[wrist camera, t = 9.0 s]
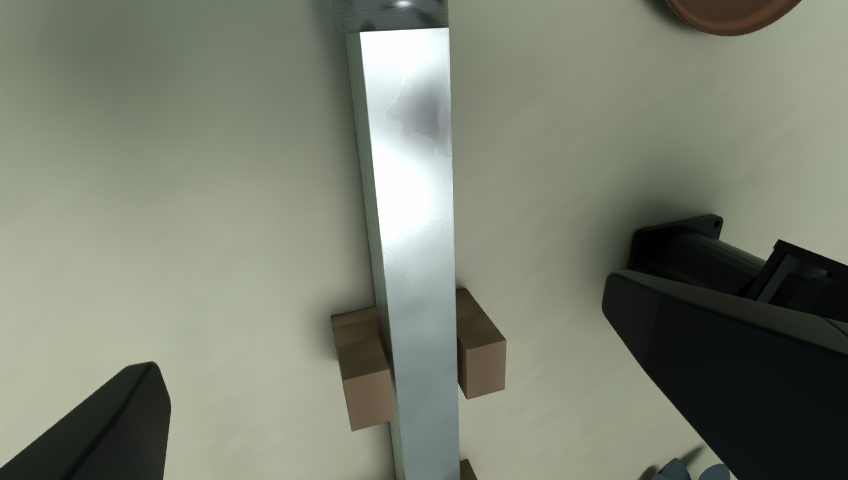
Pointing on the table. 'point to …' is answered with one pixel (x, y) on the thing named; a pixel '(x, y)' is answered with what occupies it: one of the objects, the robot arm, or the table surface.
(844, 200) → the table surface
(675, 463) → the toy
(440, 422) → the shaft
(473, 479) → the bearing
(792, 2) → the cup and saucer
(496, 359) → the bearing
